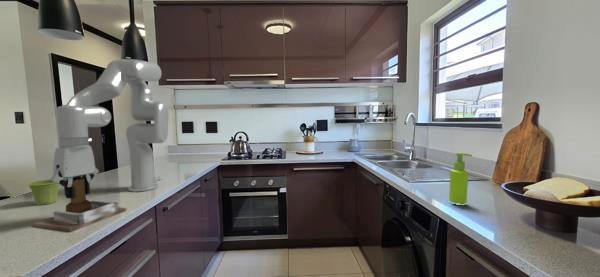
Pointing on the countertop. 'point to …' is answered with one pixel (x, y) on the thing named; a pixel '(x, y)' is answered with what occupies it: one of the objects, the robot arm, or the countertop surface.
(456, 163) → the soap dispenser
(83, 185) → the wooden chess pawn
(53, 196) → the plant pot
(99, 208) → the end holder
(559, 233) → the countertop surface
